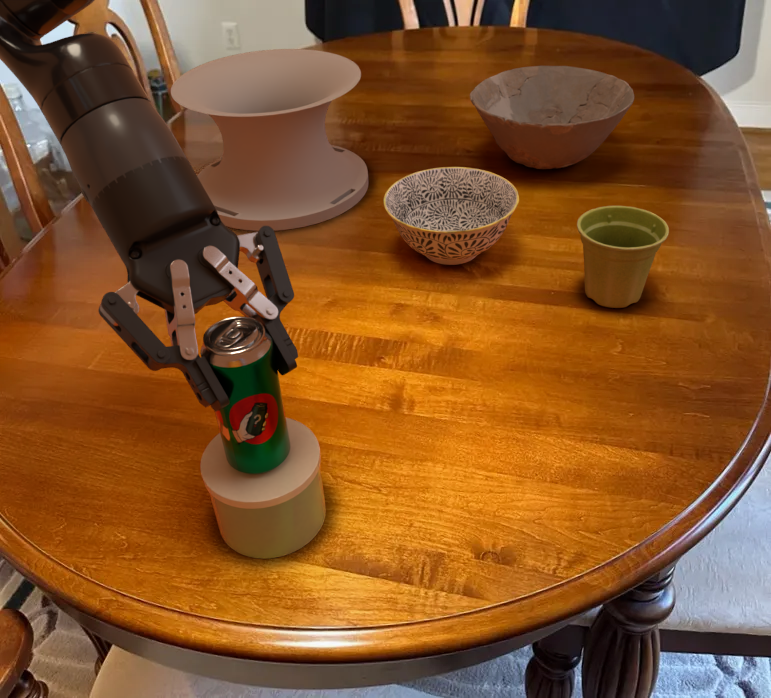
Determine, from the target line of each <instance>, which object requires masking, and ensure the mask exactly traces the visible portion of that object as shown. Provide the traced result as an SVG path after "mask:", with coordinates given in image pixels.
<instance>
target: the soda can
mask: <svg viewBox="0 0 771 698" xmlns="http://www.w3.org/2000/svg"><path fill="white" fill-rule="evenodd" d="M199 353H200V354H199V355H200V357H202V356H205V358H206V360H207V361H208V363H209V365H210V367H211V368H212V370H213V372H214V374H215V375H216V377H217V379H218V381H219V382H220V384H221V386H222V388H223V389H224V391H225V393H226V395H227V397H228V399H229V402H230V403H229V404H228V405H227V406H226V407H224V408H222V409H220V410H218V411H217V412H215V411H214V414H215V418H216V422H217V426H218V430H219V433H220V435H221V439H222V443H223V447H224V451H225V455H226V459H227V461H228V463H229V464H230V466H231V467H233V468H234V469H236V470H237V471H240V472H243V473H246V474H253V475H255V474H263V473H267V472H269V471H272V470H274V469H275V468H277V467H278V466H279V465H280V464H281V463H283V462H284V460H285V459H286V458H287V456H288V454H289V452H290V439H289V434H288V428H287V422H286V418H287V417H286V412H285V405H284V400H283V395H282V389H281V382H280V377H279V372H278V370H277V365H276V359H275V353H274V347H273V342H272V338H271V336H270V335H269V333H268V332H266V331H265V328H264V326H263V325H262V323H260V322H259V321H258V320H256V319H253V318H250V317H245V316H243V315H241V316H230V317H227V318H223V319H221V320H219V321H216V322H214V323H212V324H211V325H210V326H208V328H207V329H206V330H205V332H204V334H203V336H202V345H201V347H200V352H199Z"/></svg>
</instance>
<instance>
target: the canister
mask: <svg viewBox="0 0 771 698" xmlns="http://www.w3.org/2000/svg"><path fill="white" fill-rule="evenodd" d="M286 422H287V428H288V434H289V439H290V452H289V454H288V456H287V458H286V459H285V460H284V462H283V463H281V464H280V465H279V466H278V467H277V468H275V469H274V470H272V471H269V472H267V473H263V474H255V475H253V474H246V473H243V472H240V471H237V470H236V469H234V468H233V467H231V466H230V464H229V463H228V461H227V459H226V455H225V451H224V447H223V443H222V439H221V435H220V432H219V433H217V434H216V435H215V436H214V437H213V438H212V439H211V440H210V441H209V443H208V444H207V445H206V447H205V449H204V451H203V453H202V455H201V459H200V465H199V467H200V475H201V478H202V482H203V484H204V486H205V489H206V490H207V492H208V493H209V497H210V501H211V505H212V508H213V513H214V516H215V519H216V523H217V526H218V527H217V528H218V530H219V533H220V536H221V538H222V540H223V541H224V543H225V544H226V545H227V546H228V547H229V548H231V549H232V550H233V551H234V552H237V553H238V554H240V555H242V556H245V557H249V558H253V559H276V558H281V557H284V556H286V555H290V554H293V553H295V552H297V551H299V550H300V549H302V548H303V547H305V546H307V545H308V544H309V543H310V542H311V541H313V539H314V538H315V537H316V536H317V535H318V534H319V532H320V530H321V529H322V527H323V525H324V522H325V519H326V513H327V506H326V500H325V492H324V486H323V478H322V472H321V471H322V470H321V462H322V456H321V455H322V454H321V447H320V443H319V440H318V438H317V437H316V435H315V433H314V432H313V431H312V430H311V428H309V427H307V425H305V424H304V423H302V422H300V421H298V420H296V419H293V418H289V417H286Z"/></svg>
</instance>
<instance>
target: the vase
mask: <svg viewBox="0 0 771 698" xmlns="http://www.w3.org/2000/svg"><path fill="white" fill-rule="evenodd" d="M361 77H362V71H361V69H360V67H359V65H358V64H357V63H356V62H355V61H352V60H351V59H350V58H347V57H345V56H343V55H340V54H336V53H333V52H328V51H323V50H317V49H316V50H315V49H305V48H276V49H262V50H261V49H260V50H253V51H248V52H242V53H236V54H232V55H231V54H230V55H227V56H223V57H219V58H217V59H213V60H210V61H207V62H205V63H202V64H199V65H197V66H194V67H193V68H191V69H189V70H187V71H186V72H184V73H183V74H181V75H180V76H179V77H178V78H177V79H175V81H174V82H173V83H172V85H171V87H170V95H171V98H172V99H173V100H174V101H175V103H177V104H178V105H179V106H182V107H183V108H185V109H188V110H191V111H194V112H197V113H201V114H206V115H208V116H209V117H210V118H211V119H212V120H213V121H214V123H215V124H216V126H217V127H218V130H219V132H220V134H221V138H222V139H221V140H222V143H223V152H222V156H221V157H219V158H218V159H216V160H213V161H212V162H211V163H209V164H208V165H206V166H205V167H204V168H203V169H202V170H200V172H199V173H198V174H196V175H197V177H198V178H199V180H200V182H201V184H202V185H203V187H204V189H205V191H206V192H207V194H208V196H209V198H210V200H211V201H212V203H213V205H214V207H215V208H216V210H217V213H218V215H219V217H220V219H221V221H222V223H223V224H224V225H225V226H226V227H227V228H232V229H237V230H243V231H251V232H252V231H253V232H258V231H259V230H260V228H261V227H263V226H269V227H271V228H272V229H273V230H274V232H276V231H285V230H286V231H287V230H293V229H294V230H295V229H299V228H304V227H309V226H313V225H316V224H320V223H323V222H325V221H328V220H331V219H334V218H336V217H338V216H340V215H342V214H344V213H346V212H347V211H349V210H351V209H352V208H353V207H354V206H356V205H357V204H358V203H359V202H360V201H361V200H362V199H363V198H364V196H365V195H366V193H367V191H368V188H369V184H370V183H369V182H370V181H369V171H368V166H367V164H366V163H365V161H364V159H362V158H361V157H360V156H359V155H358V154H356V153H355V152H352V150H351V151H350V150H349V149H347V148H344V147H342V146H339V145H335V144H331V143H330V141H329V138H328V135H327V131H326V119H327V118H326V117H327V112H328V109H329V107H330V105H331V103H332V101H333V100H336V99H338V98H340V97H342V96H344V95H345V94H347V93H348V92H350V91H351V90H352V89H354V88H355V87H356V86H357V84H359V82H360V80H361Z"/></svg>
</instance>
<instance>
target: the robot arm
mask: <svg viewBox="0 0 771 698" xmlns="http://www.w3.org/2000/svg"><path fill="white" fill-rule="evenodd" d="M95 1H96V0H0V61H1V62H2V63H3V64H4V65H5V66H6V67H7V69H9V71H10V72H11V73H12V74H13V75H14V76H15V78H16V79H17V80H18V81H19V82H20V83H21V85H22V86H23V87H24V88H25V90H26V91H27V92H28V93H29V94H30V96H31V97H32V99H33V100H34V102H35V103H36V104H37V106H38V107H39V110H40V112H41V113H42V115H43V116H44V118H45V120H46V122H47V124H48V126H49V127H50V129H51V131H52V132H53V134H54V136H55V138H56V140H57V141H58V144H60V146H61V149H62V150H63V151H62V152H63V153H64V154H65V158H67V159H66V160H67V161H68V164H69V167H70V169H71V172H72V175H73V177H74V179H75V180H76V182H77V185H78V186H79V188H80V190H81V194H82V196H83V198H84V200H85V202H87V203H88V204H89V205H90V207H91V208H92V210H93V212H94V214H95V215H96V218H97V220H98V221H99V222H100V224H101V226H102V228H103V231H105V233H106V235H107V237H108V238H109V240H110V242H111V244H112V245H113V247H114V249H115V251H116V252H117V255H118V256H119V259H120V260H121V261H122V263H123V264H124V266H125V269H126V272H127V273H126V275H127V279H126V280H127V283H125V284H124V285H123V286H121V287H119V288H118V289H117V290H115V291H107V292H106V293H104V295H103V296H102V298H101V301H100V304H99V306H98V315H99V316H100V317H101V318H102V319H103V320H104V321H105V322H106V323H107V325H108V326H109V327H110V329H112V330H113V331H114V332H115V333H116V334H117V336H118V337H119V338H120V339H121V340H122V342H124V343H125V344H126V346H128V348H129V349H130V350H131V351H132V352H133V353H134V354H135V355H136V356H137V357H138V358H139V360H140V361H141V362H142V363H143V364H144V365H145V366H146V368H148V369H149V370H150V371H152V372H159V371H161V370H163V369H177V370H179V371H180V372H181V373H182V375H183V376H184V378H185V380H186V381H187V383H188V385H189V387H190V388H191V390H192V392H193V394H194V395H195V397H196V399H197V400H198V402H199V404H200V405H201V406H203V407H204V408H208V407H211V409H212V410H213V411H214V413H215V412H217V411H218V410H220V409H222V408H224V407H226V406H227V405H228V404H229V403H230V402H229V399H228V397H227V395H226V393H225V391H224V389H223V388H222V386H221V384H220V382H219V381H218V379H217V377H216V375H215V374H214V372H213V370H212V368H211V367H210V365H209V363H208V361H207V360H206V358H205V356H202V357H201V355H200V354H199V345H198V340H197V333H196V315H197V314H198V313H199V312H200V311H202V309H204V308H205V307H208V306H215V305H217V304H219V303H222V302H223V303H225V304H226V306H228V307H229V308H230V309H231V310H233V311H236V312H239V313H240V314H241V315H242V316H243V317H250V318H253V319H256V320H258V321H259V322H260V323H262V325H263V326H264V328H265V331H266V332H268V333H269V335H270V336H271V338H272V342H273V347H274V353H275V359H276V365H277V370H278V374H279V375H281V376H285V375H287V374H289V373H291V372H292V371H294V370H295V369H296V368H297V367H298V363H297V361H296V359H298V358H299V354H298V348H297V347H296V346H295V344H294V342H293V340H292V338H291V337H290V334H289V333H288V331H287V330H286V328H285V326H284V324H283V322H282V321H281V313H282V312H283V310H284V309H285V308H286V307H287V306H288V304H290V302H292V301H293V300H294V298H295V292H294V288H293V285H292V282H291V279H290V276H289V273H288V270H287V266H286V263H285V261H284V257H283V253H282V251H281V248H280V245H279V242H278V239H277V236H276V231H274V230H273V229H272V228H271V227H269V226H263V227H261V228H260V230H259V231H253V232H249V233H244V234H238V235H237V234H236V232H234V231H233V230H232V229H230V227H227V226H225V225H224V224H223V223H222V221H221V219H220V217H219V215H218V213H217V210H216V208H215V207H214V205H213V203H212V201H211V200H210V198H209V196H208V194H207V192H206V191H205V189H204V187H203V185H202V184H201V182H200V180H199V178H198V177H197V175H198V174H197V173H196V171H195V170H194V168H193V166H192V164H191V163H190V161H189V159H188V157H187V156H186V154H185V152H184V150H183V148H182V147H181V145H180V144H179V142H178V140H177V138H176V136H175V135H174V133H173V131H172V129H171V128H170V126H169V125H168V123H166V121H165V120H164V118H163V117H162V116H161V115H160V113H159V112H158V110H157V109H156V108H155V106H154V104H153V103H152V101H151V100H150V98H149V96H148V94H147V93H146V90H145V89H144V87H143V86H142V84H141V82H140V80H139V78H138V76H137V74H136V73H135V70H133V69H132V66H131V65H130V62H129V61H128V59H127V57H126V56H125V54H124V53H123V51H122V50H121V48H120V46H118V45H117V43H115V41H113V40H112V39H111V37H108V36H106V35H104V34H101V33H97V32H96V33H95V32H85V33H78V34H73V35H70V36H67V37H62V38H60V39H57V40H54V41H51V42H48V43H44V44H42V43H41V40H42V38H43V37H45V36H46V35H47V34H49V33H51V32H52V31H54V30H55V29H57V28H58V27H59V26H61V25H62V24H64V23H66V22H67V21H68V20H70V19H71V18H73V17H74V16H76V15H77V14H79V13H81V12H82V11H83V10H84V9H86V8H88V7H89V6H90V5H92V4H93V3H94V2H95ZM240 252H241V253H243V254H244V255H245V256H246V258H247V260H248V261H249V262H250V263H253V264H255V265H256V269H257V272H258V274H259V278H260V281H261V284H262V287H263V290H264V294H265V295H264V294H263V292H261V291H260V290H259V289H258V286H257V285H256V283H255V282H254V281H253V280H251V279H250V278H249V277H248V276H247V275H246V274H245V273H243V272H242V271H241V270H240V269H239V263H240V262H239V260H240ZM136 297H139V298H141V299H143V300H145V301H147V302H148V303H151V304H153V305H155V306H156V307H159V308H161V309H163V310H164V315H165V323H166V328H167V329H166V330H167V334H168V337H169V338H170V345H169V346H166V345H165V344H164V343H163V342H162V340H161V339H160V338H159V337H158V336H157V335H156V334H155V332H154V331H152V329H150V327H148V325H147V324H146V323H145V322H144V320H143V319H142V318H141V317H139V315H138V314H139V312H140V304H138V302H137V299H136Z"/></svg>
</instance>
